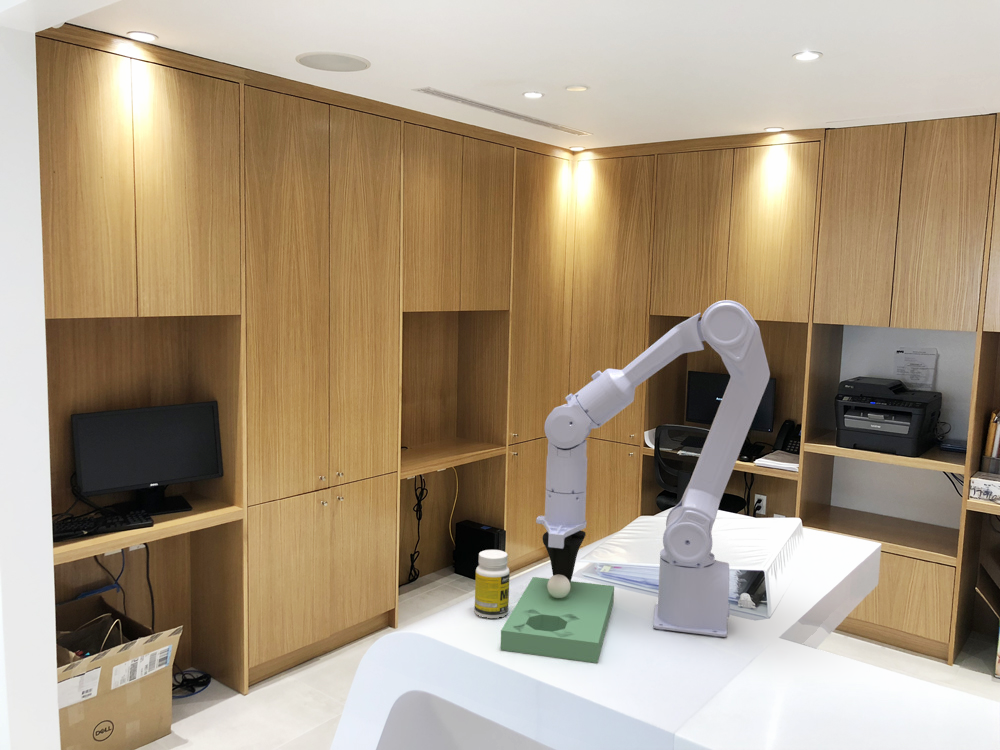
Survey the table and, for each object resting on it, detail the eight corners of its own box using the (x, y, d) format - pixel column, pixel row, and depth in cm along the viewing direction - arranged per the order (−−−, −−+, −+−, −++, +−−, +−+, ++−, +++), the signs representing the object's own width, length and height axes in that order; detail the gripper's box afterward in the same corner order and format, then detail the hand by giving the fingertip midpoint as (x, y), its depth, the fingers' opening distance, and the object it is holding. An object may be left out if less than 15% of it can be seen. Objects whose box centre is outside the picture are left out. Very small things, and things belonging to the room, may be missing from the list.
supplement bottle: (504, 621, 104) (506, 560, 103) (470, 617, 105) (472, 557, 104) (511, 608, 108) (513, 550, 108) (478, 604, 109) (480, 547, 109)
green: (613, 602, 111) (614, 586, 111) (597, 663, 92) (598, 643, 92) (532, 593, 114) (533, 576, 114) (500, 649, 95) (501, 630, 95)
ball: (571, 594, 107) (572, 572, 107) (568, 603, 104) (568, 580, 104) (549, 592, 108) (549, 570, 108) (544, 600, 105) (545, 577, 105)
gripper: (547, 476, 116) (544, 563, 117) (527, 498, 102) (524, 597, 103) (594, 480, 114) (590, 569, 116) (580, 503, 100) (576, 604, 102)
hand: (562, 583), depth 109 cm, fingers closed
